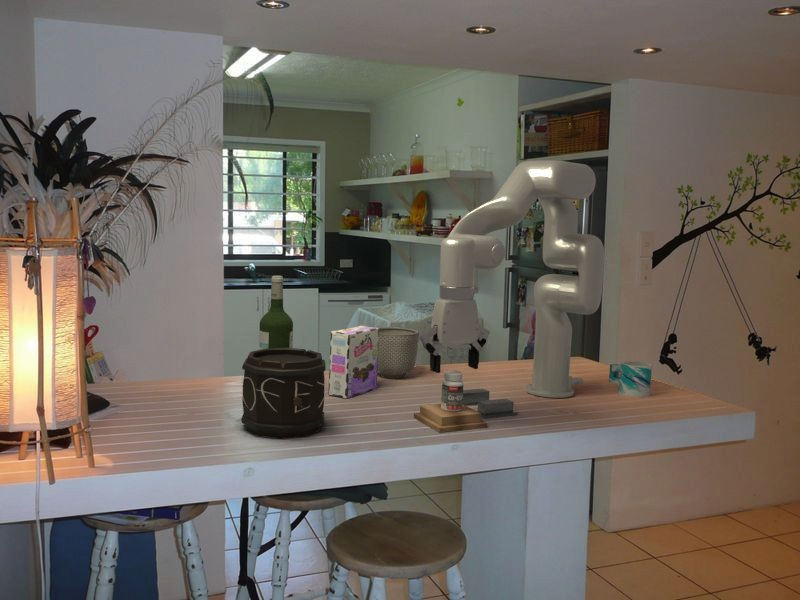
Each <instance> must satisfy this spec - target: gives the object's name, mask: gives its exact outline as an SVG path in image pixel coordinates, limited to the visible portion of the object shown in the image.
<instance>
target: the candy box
mask: <svg viewBox="0 0 800 600" xmlns="http://www.w3.org/2000/svg"><path fill="white" fill-rule="evenodd" d="M378 336H379V327H371V326H366V325H359V326H354V327H350V328H345V329H344V328H343V329H337V330H331V331H330V343H329V344H330V347H329V367H328V368H329V374H328V395H329V396H332V397H337V398H342V399H350V398H353V397H355V396H356V397H357V396H358V395H362V394H365V393H368V392H371V391H374V390H377V388H378V387H377V386H378V371H377V364H378Z"/></svg>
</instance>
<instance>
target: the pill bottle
mask: <svg viewBox="0 0 800 600" xmlns="http://www.w3.org/2000/svg"><path fill="white" fill-rule="evenodd" d="M443 373H444V374H443V375H444V376H443V377H444V379H443V381H442V382H441V399H440V404H441V408H442V409H443V410H445V411H450V412H457V411H461V410H462V400H463V390H464V382H463V381H462V380H463V372H461V371H459V370H458V371H457V370H445V371H444V372H443Z"/></svg>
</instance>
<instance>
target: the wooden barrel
mask: <svg viewBox="0 0 800 600" xmlns="http://www.w3.org/2000/svg"><path fill="white" fill-rule="evenodd" d="M326 368H327V367H326V360H324V359H323V356H322V353H320V352H318V351H314V350H311V349H309V350H306V349H305V348H296V347H295V348H293V347H292V348H267V349H261V350H259V349H257V350H253V351H250V352H249V354H248V355H247V357H246V358H245V360H244V362H243V364H242V367H241V369H242V370H244V373H243V381H242V411H243V414H242V416H241V419H240V420H241V423H242V424H243V425H245V430H246V431H248V432H249V433H252V434H254V435H255V436H257V437H264V438H272V439H279V440H280V439H292V438H304V437H307V436H310V435H312V434H315V433H317V432H319V431H320V428H321V426H322V425H323V424H324V422H325V412H324V405H325V385H326V384H325V383H326V382H325V381H326V380H325V372H326Z"/></svg>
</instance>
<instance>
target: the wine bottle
mask: <svg viewBox="0 0 800 600" xmlns="http://www.w3.org/2000/svg"><path fill="white" fill-rule="evenodd" d="M270 281H271V288H270V291H271V292H270V307H269V309H268V311H267V312H266V313H265V314H264V315H263V316H262V317H261V319H260V321H259V335H258V336H259V339H258V350H261V349H267V348H293V347H294V346H293V341H294V340H293V339H294V322H293V320H292V318H291V316H290V315H289V314H288V313H286V311H285V308H284V285H283V284H284V278H283V275H272V276H271V280H270Z"/></svg>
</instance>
